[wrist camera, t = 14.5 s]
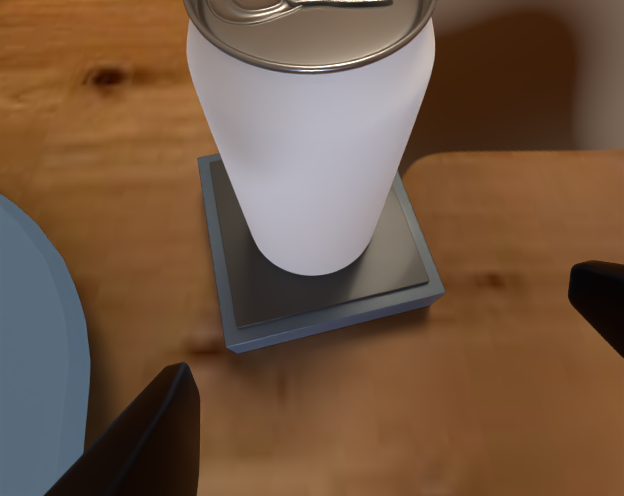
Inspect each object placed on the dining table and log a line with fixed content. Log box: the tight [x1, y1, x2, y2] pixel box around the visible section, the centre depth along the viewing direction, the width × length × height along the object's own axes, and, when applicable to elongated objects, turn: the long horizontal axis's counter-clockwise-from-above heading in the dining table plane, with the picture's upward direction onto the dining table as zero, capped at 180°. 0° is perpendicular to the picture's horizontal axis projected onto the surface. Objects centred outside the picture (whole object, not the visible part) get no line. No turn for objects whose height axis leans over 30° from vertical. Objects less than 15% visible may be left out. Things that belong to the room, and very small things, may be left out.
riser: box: [197, 153, 446, 353], centre depth 20 cm, size 11×11×3 cm
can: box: [183, 0, 437, 276], centre depth 13 cm, size 6×6×12 cm
